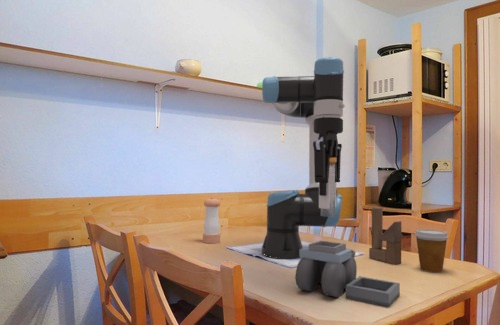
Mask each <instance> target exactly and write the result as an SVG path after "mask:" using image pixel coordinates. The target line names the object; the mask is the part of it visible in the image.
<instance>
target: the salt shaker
mask: <svg viewBox="0 0 500 325" xmlns="http://www.w3.org/2000/svg"><path fill="white" fill-rule="evenodd" d="M203 205H204V207H205V215H204V216H205V218H204V221H203V222H204V224H203V234H202V243H204V244H217V243H218V244H219V243H221V233H220V218H219V207H220V205H221V201H220V199H218V198H215V197H214V196H210V198H206V199H205V200H204V201H203Z"/></svg>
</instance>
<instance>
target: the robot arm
mask: <svg viewBox="0 0 500 325" xmlns="http://www.w3.org/2000/svg"><path fill="white" fill-rule="evenodd" d="M313 66H314V68H313V69H314V70H313V75H311V76H310V75H305V76H303V75H302V76H300V75H299V76H276V75H274V76H267V77H264V78H263V79H262V83H261V84H262V88H261V89H262V91H261V92H262V101H263V102H264V103H268V104H273V106H274V108H275V109H276V110H277V111H278V112H279V113H281V114H282V115H285V116H289V117H291V118H305V119H304V121H305V123H306V124H307V125H308V126H309V128H308V129H309V134H308V135H309V136H308V137H309V139H308V140H309V143H308V144H309V145H308V146H309V152H308V153H309V154H308V156H309V158H308V159H309V160H308V168H309V170H308V171H309V172H308V174H309V176H308V178H309V180H308V181H309V182H308V183H309V184H308V185H307V187H306V188H305V189H304V193H300V190H299V189H292V190H290V189H289V190H281V191H274V192H270V193H269V194H268V195H267V202H266V208H267V209H266V213H267V214H266V217H267V218H266V233H265V234H266V235H265V237H264V240H263V243H262V246H261V254H262V255H263V254H265V255H267V256H271V257H270V258H272V257H277V258H276V259H284V258H287V259H296V258H297V257H298V258H300V257H299V251H300V249H302V248H304V246H303V243H302V240H301V236H300V233H299V231H300V230H299V227H320V228H321V227H323V228H326V227H336V226H337V225H338V224H339V220H340V216H341V211H342V210H341V209H342V202H343V201H342V200H343V199H342V198H343V197H342V195H341V194H339V193H338V189H337V183H340V182H341V160H342V159H341V154H342V153H341V152H342V148H343V145H342V143H339V142H338V141H339V140H338V134H342V133H343V132H344V120H343V118H342V117H343V116H344V108H345V104H344V73H345V70H344V61H343V60H342V59H341V58H339V57H336V56H327V57H326V56H325V57H321V58H318V59H317V60H315V61H314V65H313ZM330 157H335V158H337V162H335V216H333V217H326V216H321V208H324V209H330V183H328V179H329V166H330V162H329V158H330ZM267 256H266V257H267ZM298 258H297V259H298Z"/></svg>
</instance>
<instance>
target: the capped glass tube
mask: <svg viewBox="0 0 500 325" xmlns="http://www.w3.org/2000/svg"><path fill="white" fill-rule="evenodd" d="M329 162H330V166H329V179H328V183H330V209H324V208H321V216H326V217H333V216H335V162H337V158H335V157H330V158H329Z"/></svg>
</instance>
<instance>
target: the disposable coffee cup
mask: <svg viewBox="0 0 500 325" xmlns="http://www.w3.org/2000/svg"><path fill="white" fill-rule="evenodd" d="M414 236H415V238H416V244H417V253H418V261H419V268H420V269H419V270H421V271H425V272H427V273H442V272H443V271H444V262H445V256H446V255H445V254H446V248H447V243H448V241H447V240H448V239H449V236H448V232H447V231H445V230H444V231H443V230H440V229H439V230H438V229H427V228H425V229H424V228H423V229H422V228H421V229H416V231H415V234H414Z"/></svg>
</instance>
